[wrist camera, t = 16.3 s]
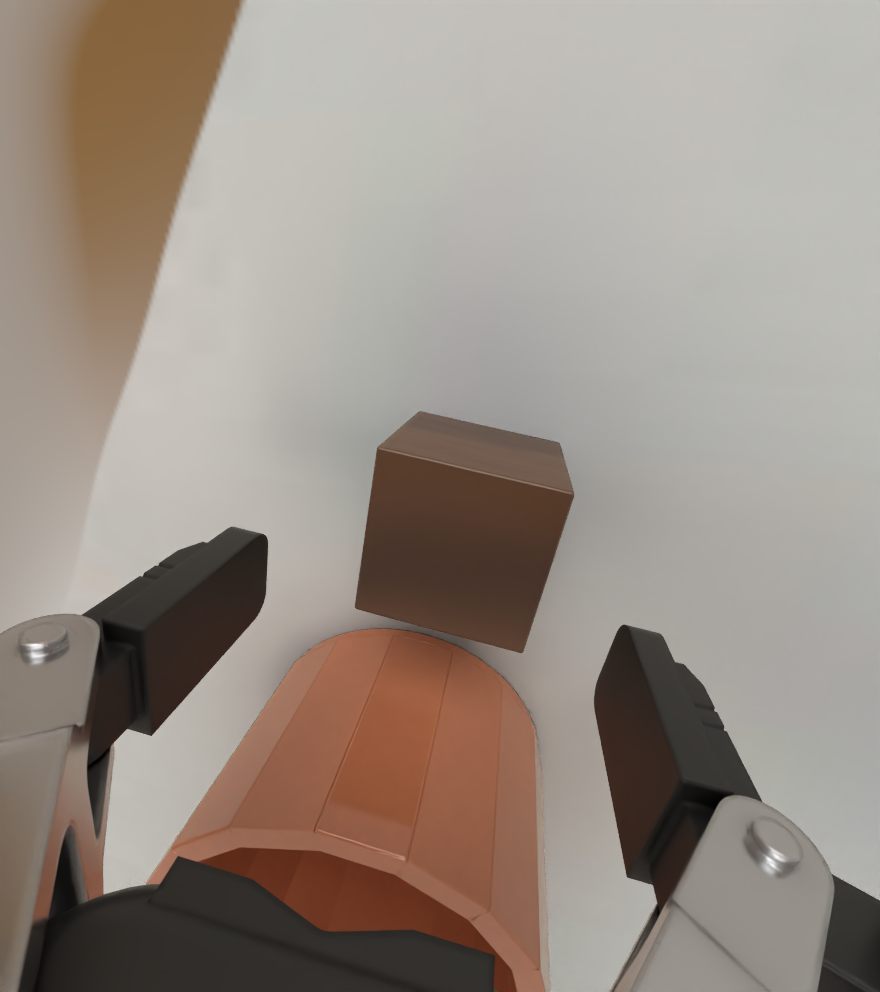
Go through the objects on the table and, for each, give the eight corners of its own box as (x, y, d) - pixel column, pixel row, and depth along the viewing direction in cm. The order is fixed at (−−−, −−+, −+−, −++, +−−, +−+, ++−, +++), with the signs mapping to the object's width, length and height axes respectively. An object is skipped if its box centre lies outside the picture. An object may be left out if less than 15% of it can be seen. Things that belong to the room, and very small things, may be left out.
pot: (285, 596, 20) (132, 774, 12) (574, 674, 19) (609, 924, 11) (272, 789, 25) (155, 1006, 17) (501, 860, 24) (491, 1127, 16)
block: (418, 410, 16) (376, 446, 12) (560, 442, 16) (575, 493, 11) (397, 535, 18) (353, 609, 13) (523, 567, 18) (522, 654, 13)
